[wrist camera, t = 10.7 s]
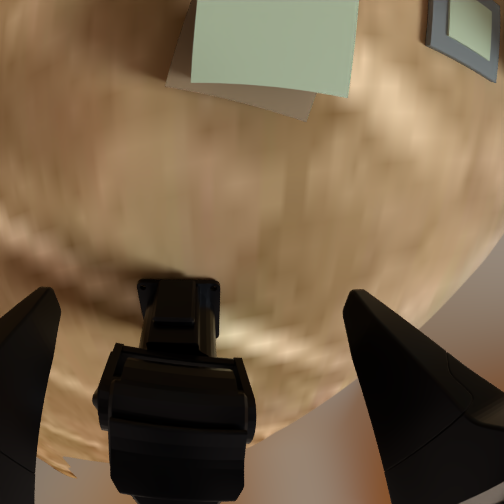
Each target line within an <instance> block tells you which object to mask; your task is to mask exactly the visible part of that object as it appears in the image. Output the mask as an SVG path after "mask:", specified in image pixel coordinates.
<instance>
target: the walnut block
mask: <svg viewBox="0 0 504 504" xmlns="http://www.w3.org/2000/svg"><path fill="white" fill-rule="evenodd" d="M196 10H197V0H192V1H191V3H190V6H189V9H188V12H187V15H186V17H185V20H184V23H183V26H182V29H181V32H180V36H179V39H178V42H177V45H176V48H175V52H174V55H173V59H172V62H171V66H170V69H169V73H168V77H167V80H166V84H165V87H170V88H176V89H181V90H187V91H192V92H197V93H202V94H206V95H211V96H215V97H220V98H224V99H228V100H232V101H236V102H240V103H244V104H248V105H252V106H255V107H259V108H262V109H266V110H269V111H273V112H276V113H279V114H283V115H286V116H289V117H292V118H295V119H298V120H301V121H304V122H307V119H308V116H309V113H310V110H311V108H312V105H313V102H314V99H315V96H316V94H317V92H310V91H303V90H296V89H288V88H280V87H270V86H259V85H246V84H227V83H191V70H192V55H193V42H194V30H195V19H196Z"/></svg>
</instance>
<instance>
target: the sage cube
mask: <svg viewBox="0 0 504 504" xmlns="http://www.w3.org/2000/svg"><path fill="white" fill-rule="evenodd" d="M358 5H359V0H197V10H196V19H195V30H194V42H193V55H192V70H191V83H227V84H246V85H259V86H270V87H280V88H288V89H296V90H303V91H310V92H317V93H323V94H329V95H334V96H339V97H345V98H348V92H349V85H350V78H351V71H352V63H353V55H354V46H355V37H356V27H357V16H358Z"/></svg>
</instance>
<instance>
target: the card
mask: <svg viewBox="0 0 504 504" xmlns="http://www.w3.org/2000/svg"><path fill="white" fill-rule="evenodd" d="M499 45H500V6H499V5H498V4H497V3H495V2H494V1H493V0H429V1H428V21H427V34H426V44H425V46H427V47H429V48H432V49H434V50H436V51H438V52H440V53H442V54H444V55H446V56H448V57H450V58H452V59H453V60H455V61H457V62H459V63H461V64H463V65H464V66H466V67H468V68H470V69H471V70H473V71H475V72H476V73H478V74H480V75H481V76H483V77H484V78H486V79H488V80H489V81H491V82H494V83H496V79H497V70H498V59H499Z"/></svg>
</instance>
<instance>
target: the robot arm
mask: <svg viewBox="0 0 504 504" xmlns="http://www.w3.org/2000/svg"><path fill="white" fill-rule="evenodd" d="M142 285H145V286H146V287H143V286H142ZM212 286H216V287H215V288H212ZM137 290H138V295H139V300H140V305H141V310H142V315H143V319H144V322H143V327H142V333H141V339H140V344H139V348H136V347H130V346H124V344H120V343H116V344H115V347H114V349H113V351H111V353H110V355H109V358H108V361H107V364H106V366H105V369H104V372H103V375H102V377H101V380H100V383H99V386H98V388H97V390H96V391H95V393H94V394H93V398H92V402H93V405H94V406H95V407H96V409H97V410H98V416H99V423H100V427H101V429H102V430H105V431H108V439H109V461H110V471H111V472H110V476H111V479H112V481H113V483H114V485H115V486H116V488H117V490H118V491H119V492H120V493H122V494H127V495H131V496H132V497H133V499H134V500H135V501H136V502H137V504H220V503H221V502H224V501H225V502H227V501H236V500H237V498H238V496H239V495H240V493H241V492H242V490H243V488H244V458H245V449H246V444H249V443H250V442H251V441H252V439H253V437H254V433H255V428H256V404H255V398H254V395H253V392H252V388H251V385H250V382H249V379H248V376H247V373H246V370H245V367H244V363H243V360H242V358H233V359H231V358H218V357H216V338H218V337H219V314H220V283H219V282H218V281H215V280H155V279H141V280H139V281H138V284H137ZM60 316H61V309H60V305H59V303H58V300H57V298H56V295H55V293H54V290H53V289H52V288H51V287H39V288H38V289H37V290H35V291H34V292H33V293H31V294H30V295H29V296H27V297H26V298H25V299H24V300H22V301H21V302H20V303H18V304H17V305H16V306H15V307H13V308H12V309H11V310H10V311H8V312H7V313H6V314H5V315H4V316H2V317H1V318H0V504H34V490H35V467H36V455H37V445H38V436H39V428H40V422H41V415H42V409H43V403H44V398H45V393H46V388H47V383H48V378H49V374H50V369H51V365H52V361H53V356H54V350H55V344H56V338H57V332H58V326H59V321H60ZM343 319H344V324H345V328H346V333H347V337H348V342H349V347H350V352H351V356H352V360H353V363H354V367H355V370H356V373H357V376H358V379H359V383H360V386H361V389H362V392H363V396H364V399H365V402H366V406H367V409H368V413H369V416H370V419H371V423H372V427H373V430H374V434H375V438H376V441H377V445H378V449H379V453H380V456H381V460H382V464H383V468H384V471H385V472H384V473H385V477H386V481H387V486H388V490H389V494H390V498H391V503H392V504H504V392H503V391H501V390H500V389H498V388H497V387H495V386H494V385H492V384H491V383H489V382H488V381H486V380H485V379H483V378H482V377H480V376H479V375H478V374H476V373H474V372H473V371H472V370H470V369H469V368H467V367H466V366H465V365H463V364H462V363H461V362H460V361H458V360H457V359H456V358H454V357H453V356H452V355H451V354H449V353H448V352H447V353H446V351H445V350H444V349H443V348H441V347H440V346H439V345H438V344H436V343H435V342H434V341H432V340H431V339H430V338H429V337H427V336H426V335H424V334H423V333H422V332H421V331H419V330H418V329H417V328H415V327H414V326H413V325H411V324H410V323H409V322H407V321H406V320H405V319H403V318H402V317H401V316H399V315H398V314H397V313H395V312H394V311H393V310H391V309H390V308H389V307H387V306H386V305H385V304H383V303H382V302H380V301H379V300H378V299H376V298H375V297H374V296H372V295H371V294H370V293H368V292H367V291H365V290H363V289H355V290H351V291H350V293H349V295H348V298H347V300H346V303H345V306H344V308H343Z"/></svg>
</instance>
